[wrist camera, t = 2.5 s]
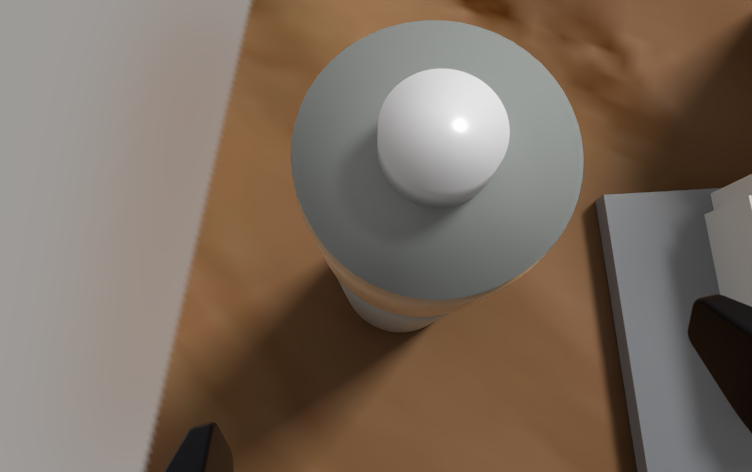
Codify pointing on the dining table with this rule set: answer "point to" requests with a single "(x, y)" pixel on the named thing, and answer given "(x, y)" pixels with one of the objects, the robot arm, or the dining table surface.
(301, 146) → the big cell
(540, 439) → the dining table surface
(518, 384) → the dining table surface
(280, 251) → the dining table surface
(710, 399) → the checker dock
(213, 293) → the dining table surface
